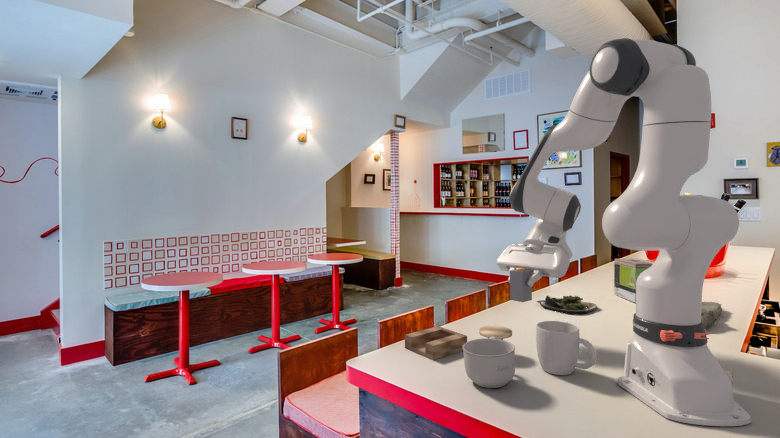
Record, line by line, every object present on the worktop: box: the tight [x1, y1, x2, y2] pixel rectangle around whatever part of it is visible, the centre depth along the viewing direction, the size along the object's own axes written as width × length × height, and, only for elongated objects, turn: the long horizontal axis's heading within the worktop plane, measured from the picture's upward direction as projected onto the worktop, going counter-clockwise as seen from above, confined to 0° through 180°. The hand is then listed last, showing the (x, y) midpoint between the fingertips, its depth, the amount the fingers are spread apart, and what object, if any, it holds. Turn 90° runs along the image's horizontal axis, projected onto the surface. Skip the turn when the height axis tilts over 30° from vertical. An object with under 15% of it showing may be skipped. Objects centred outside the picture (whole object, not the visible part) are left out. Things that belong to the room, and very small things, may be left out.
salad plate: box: [536, 294, 598, 315], centre depth 149 cm, size 19×18×5 cm
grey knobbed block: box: [509, 268, 533, 303], centre depth 113 cm, size 4×4×9 cm
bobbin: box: [478, 325, 513, 340], centre depth 105 cm, size 8×8×6 cm
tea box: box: [613, 258, 655, 304], centre depth 159 cm, size 15×10×15 cm
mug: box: [535, 320, 598, 376], centre depth 93 cm, size 13×9×10 cm
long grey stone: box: [701, 301, 723, 330], centre depth 132 cm, size 35×5×10 cm
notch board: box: [404, 325, 468, 361], centre depth 109 cm, size 12×11×4 cm
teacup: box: [462, 336, 516, 389], centre depth 90 cm, size 14×11×8 cm
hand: (519, 284), depth 112 cm, fingers closed on grey knobbed block, 4 cm apart
